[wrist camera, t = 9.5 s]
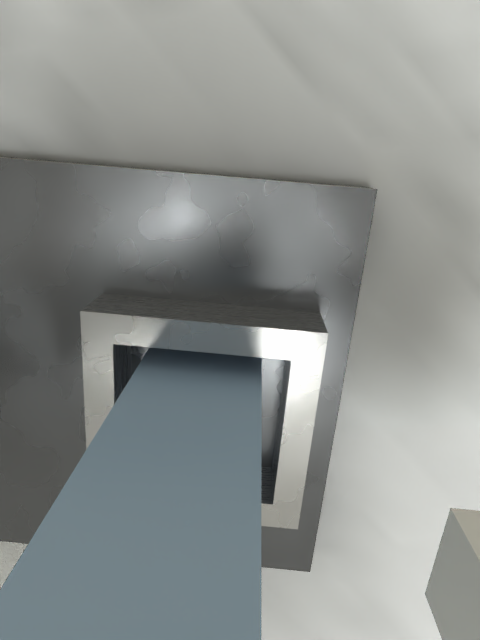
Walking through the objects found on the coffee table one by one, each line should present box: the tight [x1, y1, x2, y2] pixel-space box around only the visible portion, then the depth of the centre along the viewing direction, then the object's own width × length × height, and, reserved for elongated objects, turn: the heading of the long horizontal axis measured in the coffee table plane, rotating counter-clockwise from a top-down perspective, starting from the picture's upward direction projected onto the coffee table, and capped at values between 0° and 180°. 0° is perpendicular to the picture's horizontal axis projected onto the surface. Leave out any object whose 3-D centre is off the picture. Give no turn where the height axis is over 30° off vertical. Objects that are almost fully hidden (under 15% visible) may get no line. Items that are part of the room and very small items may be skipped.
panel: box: [0, 157, 377, 572], centre depth 16 cm, size 24×16×3 cm, turn 85°
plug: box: [0, 347, 262, 640], centre depth 11 cm, size 4×5×13 cm
